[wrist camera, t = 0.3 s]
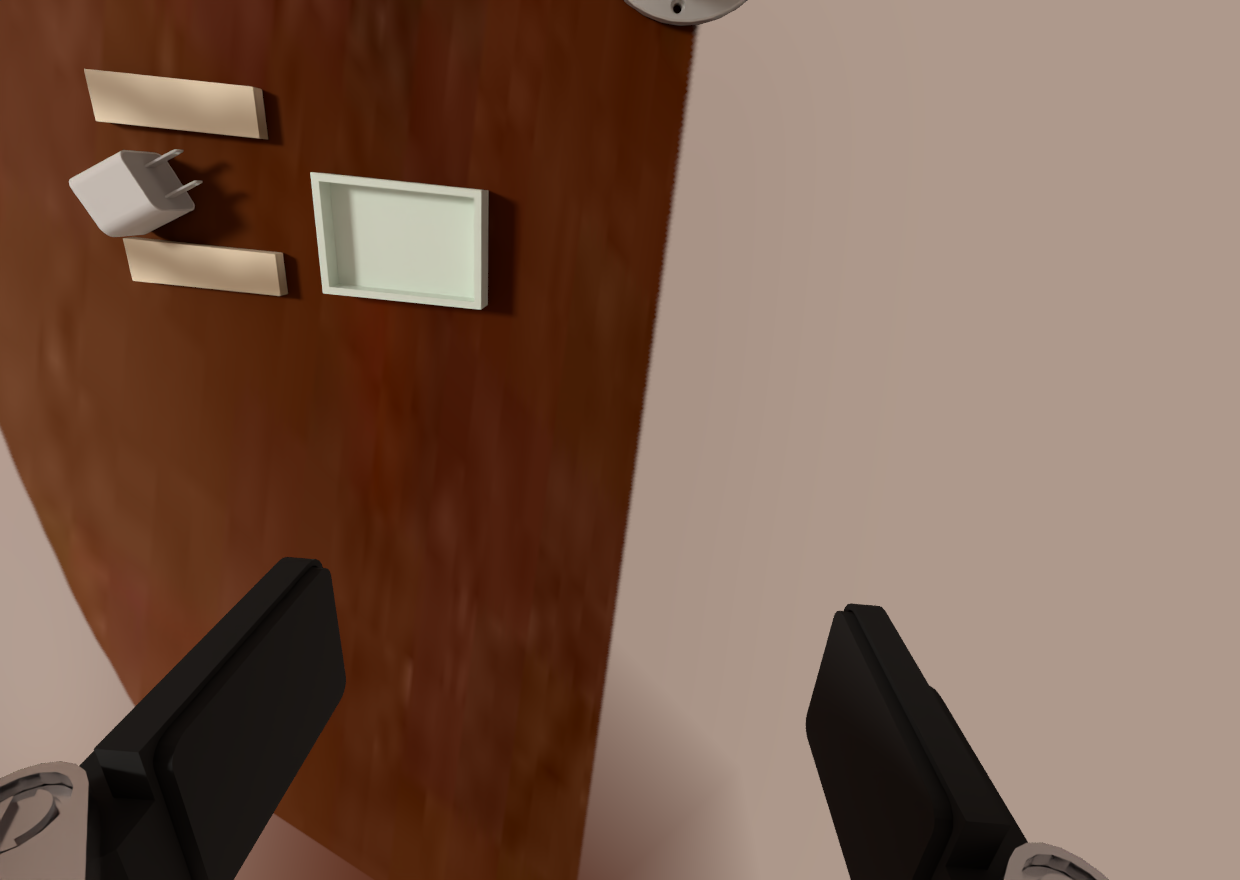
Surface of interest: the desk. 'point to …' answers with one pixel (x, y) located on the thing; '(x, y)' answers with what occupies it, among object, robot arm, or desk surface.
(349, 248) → the tray
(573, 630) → the desk surface
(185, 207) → the usb wall charger
